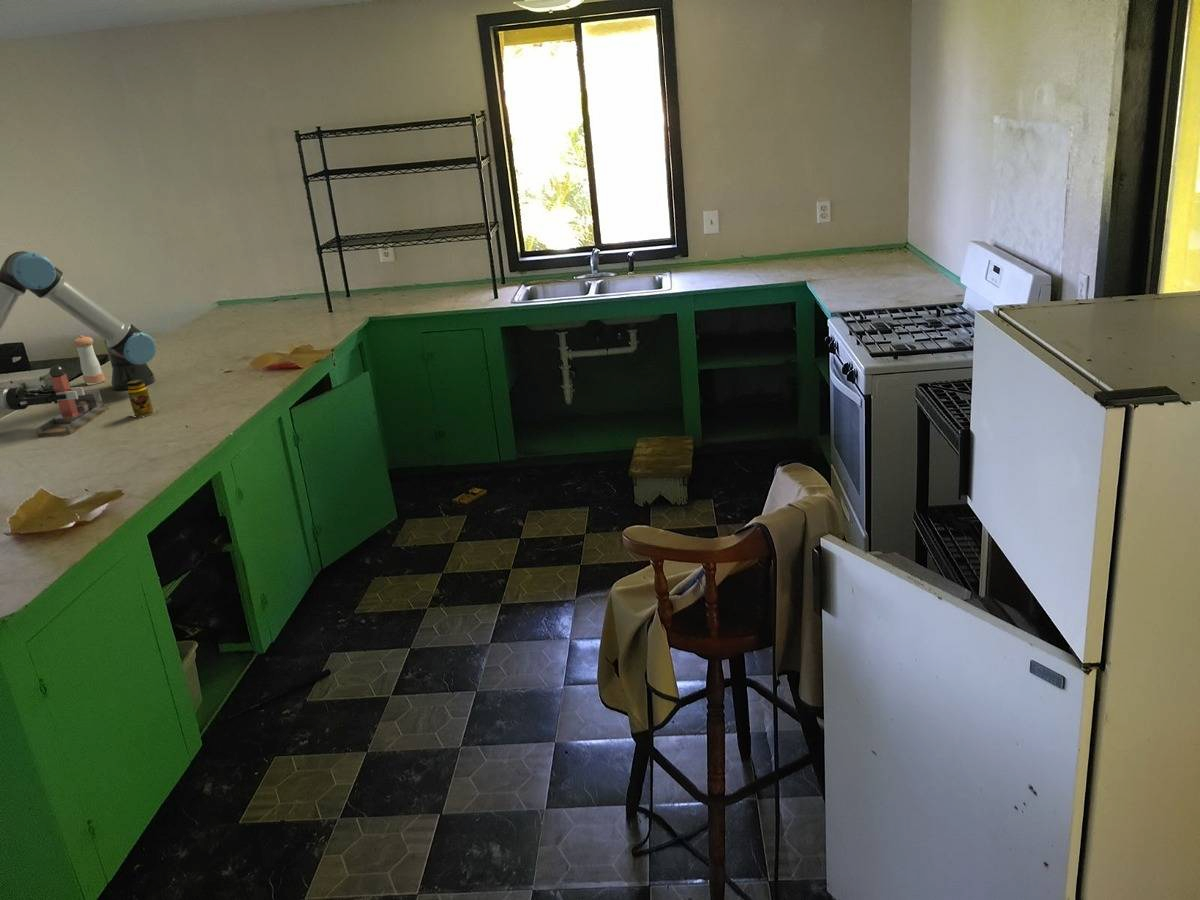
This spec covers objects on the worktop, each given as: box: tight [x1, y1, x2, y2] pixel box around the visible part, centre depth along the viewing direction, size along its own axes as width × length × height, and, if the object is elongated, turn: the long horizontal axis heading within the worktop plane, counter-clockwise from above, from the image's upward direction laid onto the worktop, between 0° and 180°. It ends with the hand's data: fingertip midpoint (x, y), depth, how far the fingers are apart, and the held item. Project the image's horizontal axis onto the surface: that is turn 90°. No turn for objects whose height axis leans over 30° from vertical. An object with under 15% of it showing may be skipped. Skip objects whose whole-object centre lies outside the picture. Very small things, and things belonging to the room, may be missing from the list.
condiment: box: [127, 379, 160, 417], centre depth 321 cm, size 7×8×12 cm
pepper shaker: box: [72, 334, 106, 384], centre depth 367 cm, size 7×7×19 cm
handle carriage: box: [49, 365, 89, 423], centre depth 317 cm, size 9×8×19 cm
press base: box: [35, 389, 110, 438], centre depth 319 cm, size 26×11×7 cm, turn 0°
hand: (79, 393), depth 316 cm, fingers closed on handle carriage, 3 cm apart
